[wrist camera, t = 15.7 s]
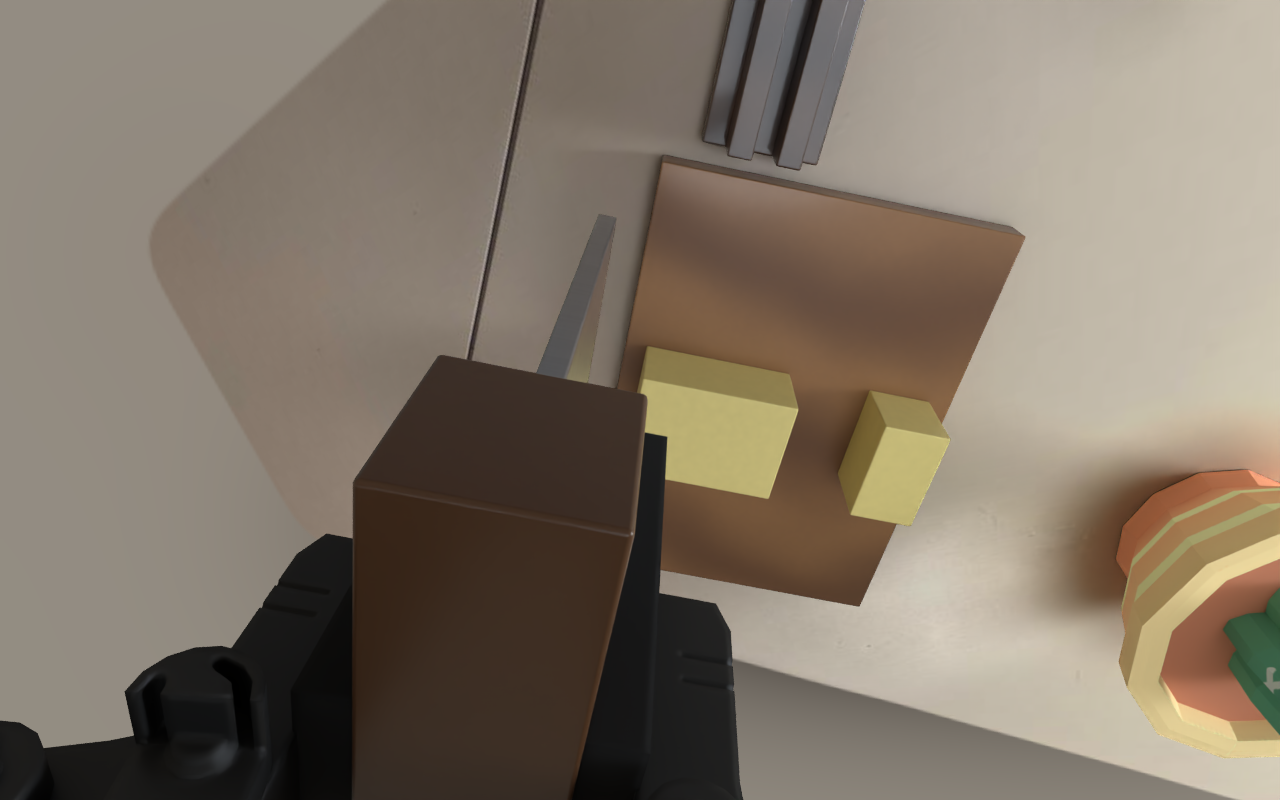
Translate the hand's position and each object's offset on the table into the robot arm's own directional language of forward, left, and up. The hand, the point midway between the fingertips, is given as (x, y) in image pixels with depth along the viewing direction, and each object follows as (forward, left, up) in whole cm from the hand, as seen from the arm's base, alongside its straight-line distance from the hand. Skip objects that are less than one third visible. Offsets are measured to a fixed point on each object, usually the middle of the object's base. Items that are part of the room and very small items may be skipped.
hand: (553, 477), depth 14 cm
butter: (+9, +5, -21) cm, 24 cm away
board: (+9, +9, -23) cm, 26 cm away
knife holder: (-8, +5, -23) cm, 24 cm away
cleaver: (0, 0, -4) cm, 4 cm away
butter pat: (+9, +14, -21) cm, 27 cm away
